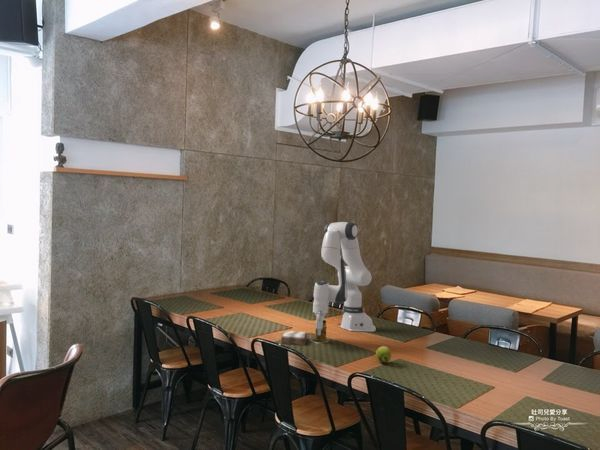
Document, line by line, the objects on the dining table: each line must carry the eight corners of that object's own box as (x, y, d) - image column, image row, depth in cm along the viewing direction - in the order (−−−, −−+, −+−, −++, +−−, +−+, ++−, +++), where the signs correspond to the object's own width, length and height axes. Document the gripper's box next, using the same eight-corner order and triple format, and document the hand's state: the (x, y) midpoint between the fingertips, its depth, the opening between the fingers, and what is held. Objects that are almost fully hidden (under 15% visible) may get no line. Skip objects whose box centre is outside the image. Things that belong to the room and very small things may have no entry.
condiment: (328, 342, 285) (329, 321, 284) (316, 343, 280) (317, 322, 279) (321, 338, 291) (322, 318, 290) (309, 340, 286) (310, 319, 286)
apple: (388, 359, 258) (389, 344, 257) (392, 365, 249) (393, 349, 248) (373, 359, 257) (374, 343, 257) (377, 365, 248) (378, 349, 248)
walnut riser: (306, 338, 290) (306, 331, 290) (304, 344, 277) (304, 337, 277) (284, 337, 291) (284, 330, 291) (281, 343, 278) (281, 336, 278)
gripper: (325, 313, 274) (324, 338, 275) (326, 305, 295) (325, 329, 295) (314, 312, 275) (312, 337, 275) (316, 305, 295) (315, 328, 296)
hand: (319, 333), depth 286 cm, fingers closed on condiment, 6 cm apart
